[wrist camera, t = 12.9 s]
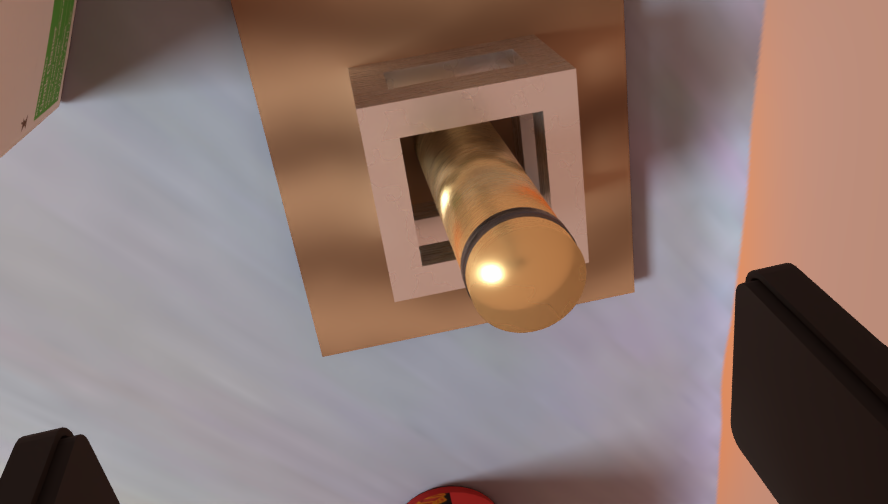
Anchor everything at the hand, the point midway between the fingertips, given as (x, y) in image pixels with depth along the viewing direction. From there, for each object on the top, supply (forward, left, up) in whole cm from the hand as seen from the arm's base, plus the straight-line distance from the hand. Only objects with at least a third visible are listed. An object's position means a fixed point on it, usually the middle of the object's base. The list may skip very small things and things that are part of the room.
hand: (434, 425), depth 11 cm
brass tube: (+6, +4, -29) cm, 30 cm away
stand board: (+6, +4, -30) cm, 31 cm away
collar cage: (+6, +4, -29) cm, 30 cm away
